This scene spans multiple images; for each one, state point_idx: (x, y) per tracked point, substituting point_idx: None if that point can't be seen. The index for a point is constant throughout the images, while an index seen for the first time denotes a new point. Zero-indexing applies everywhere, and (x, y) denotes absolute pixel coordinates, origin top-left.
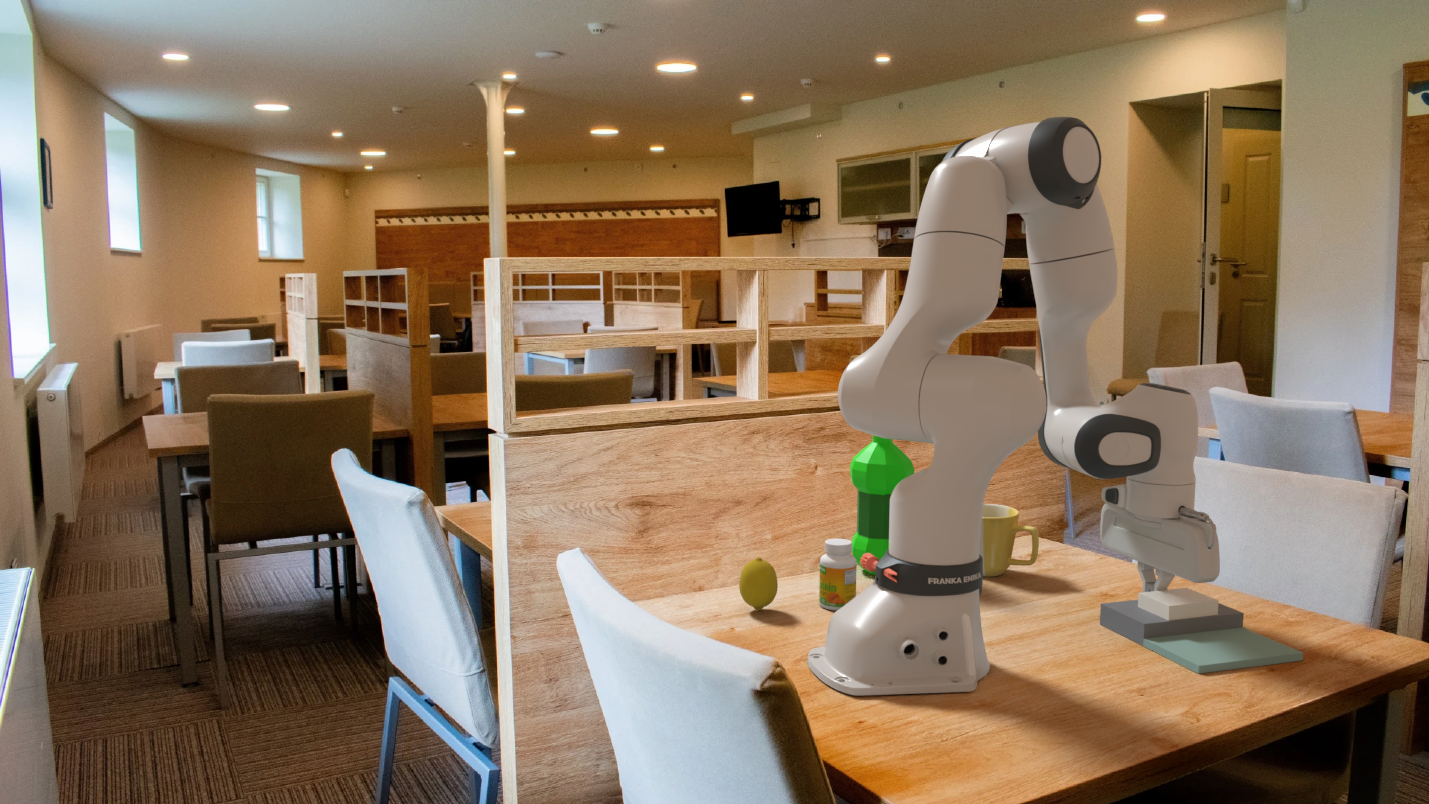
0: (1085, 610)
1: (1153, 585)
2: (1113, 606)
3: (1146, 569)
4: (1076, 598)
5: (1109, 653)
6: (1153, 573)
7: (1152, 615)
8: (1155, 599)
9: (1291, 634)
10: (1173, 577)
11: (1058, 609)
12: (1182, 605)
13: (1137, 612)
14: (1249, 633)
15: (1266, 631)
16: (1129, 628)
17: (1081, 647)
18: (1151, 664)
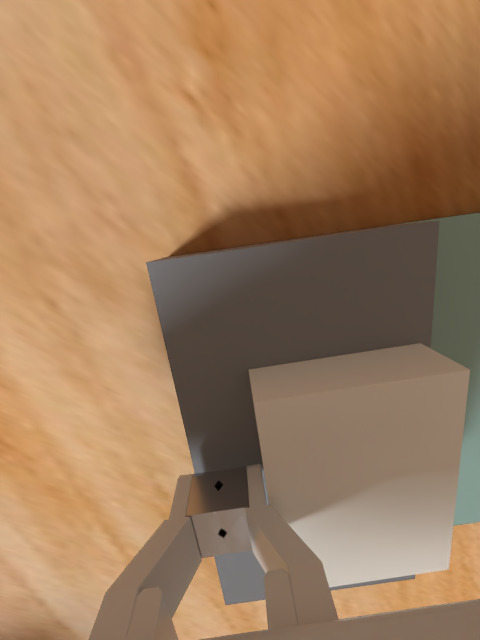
0: (116, 526)
1: (243, 548)
2: (257, 588)
3: (175, 634)
4: (7, 509)
5: (394, 582)
6: (164, 563)
7: None
8: (368, 577)
9: (438, 19)
10: (316, 558)
11: (107, 573)
12: (450, 522)
13: None
14: (457, 244)
15: (381, 106)
16: None
17: (349, 610)
18: (472, 543)
